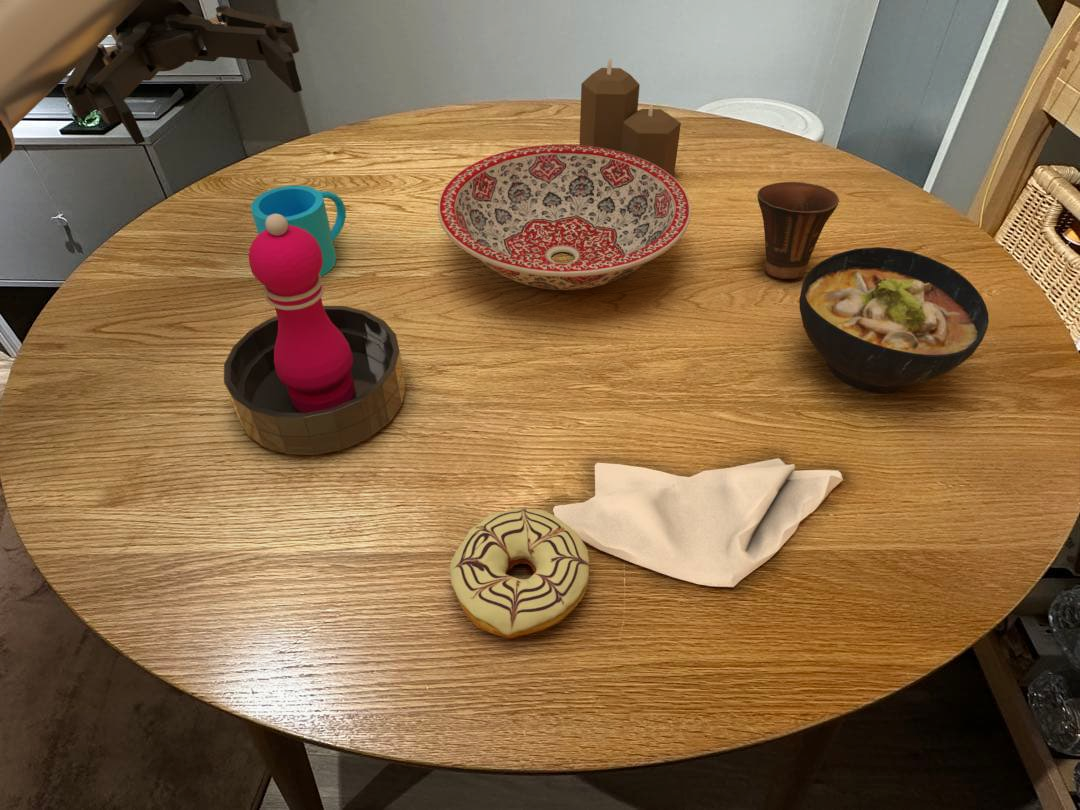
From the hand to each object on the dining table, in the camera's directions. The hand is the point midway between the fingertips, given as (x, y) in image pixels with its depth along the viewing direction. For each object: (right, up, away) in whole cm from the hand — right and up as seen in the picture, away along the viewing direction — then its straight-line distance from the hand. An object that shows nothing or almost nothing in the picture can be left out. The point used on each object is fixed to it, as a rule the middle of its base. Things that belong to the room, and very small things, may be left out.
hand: (217, 101), depth 64 cm
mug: (-1, -7, +31) cm, 32 cm away
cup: (+56, -9, +29) cm, 64 cm away
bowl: (+61, -21, +16) cm, 67 cm away
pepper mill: (+5, -24, +12) cm, 28 cm away
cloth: (+41, -35, +2) cm, 54 cm away
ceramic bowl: (+30, -8, +31) cm, 43 cm away
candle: (+38, +8, +46) cm, 60 cm away
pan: (+5, -25, +13) cm, 28 cm away
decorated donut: (+25, -40, -3) cm, 47 cm away
